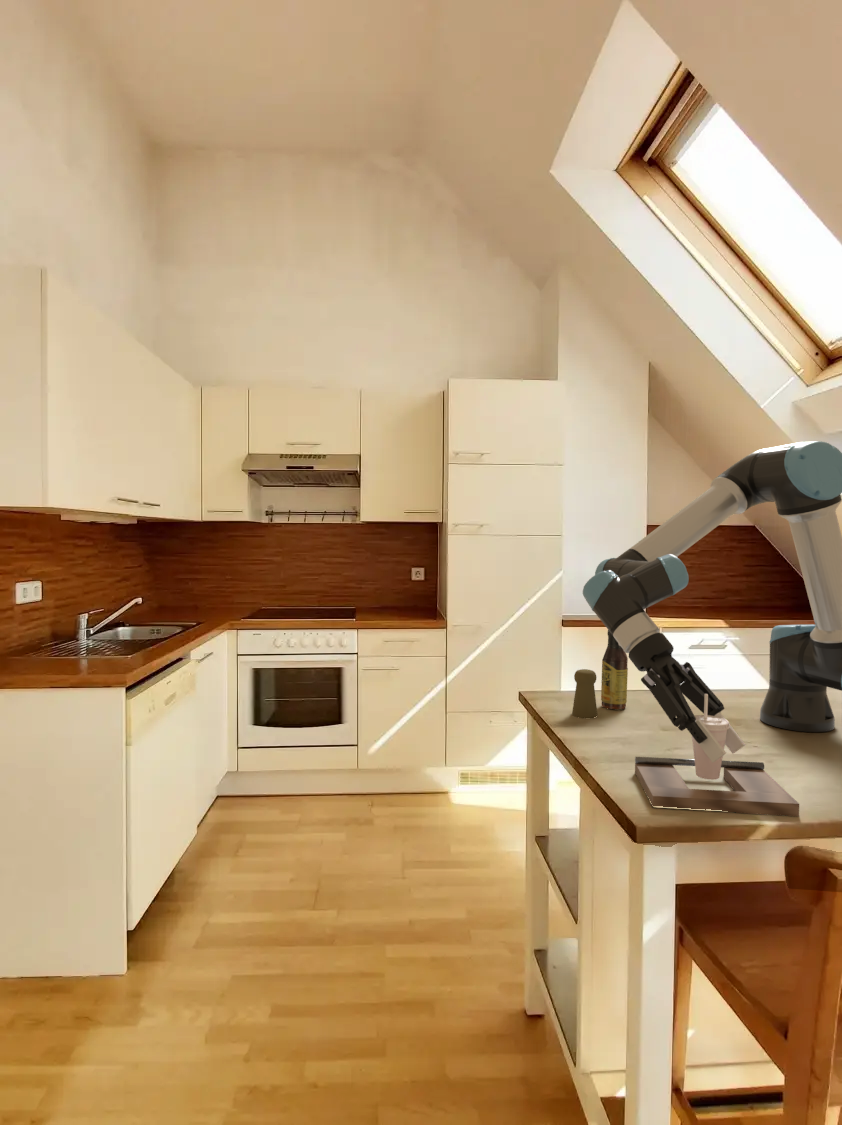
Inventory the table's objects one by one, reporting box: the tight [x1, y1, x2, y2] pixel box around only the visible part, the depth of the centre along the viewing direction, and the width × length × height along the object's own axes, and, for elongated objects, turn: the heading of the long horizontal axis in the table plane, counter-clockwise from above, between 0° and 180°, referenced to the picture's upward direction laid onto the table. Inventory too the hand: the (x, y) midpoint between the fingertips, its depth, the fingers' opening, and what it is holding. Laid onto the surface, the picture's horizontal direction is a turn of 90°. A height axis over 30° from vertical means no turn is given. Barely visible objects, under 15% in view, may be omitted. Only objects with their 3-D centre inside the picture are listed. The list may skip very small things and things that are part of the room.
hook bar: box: [634, 756, 765, 771], centre depth 122 cm, size 22×1×1 cm, turn 82°
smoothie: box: [691, 694, 730, 781], centre depth 116 cm, size 6×6×14 cm
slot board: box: [634, 762, 800, 817], centre depth 115 cm, size 22×16×2 cm
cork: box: [571, 668, 598, 719], centre depth 164 cm, size 6×6×11 cm
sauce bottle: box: [600, 629, 629, 710], centre depth 170 cm, size 7×6×20 cm
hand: (729, 753), depth 113 cm, fingers closed on smoothie, 6 cm apart
